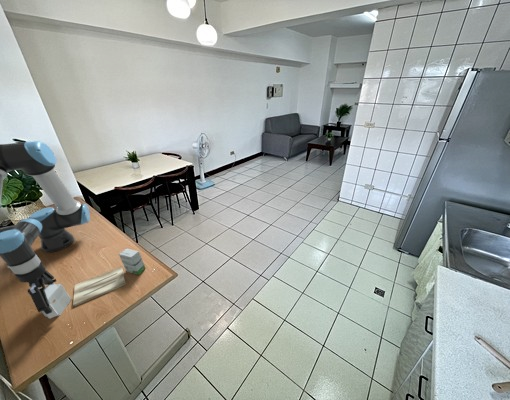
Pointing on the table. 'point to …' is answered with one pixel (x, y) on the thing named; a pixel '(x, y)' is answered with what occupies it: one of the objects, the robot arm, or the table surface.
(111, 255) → the table surface
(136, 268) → the ink box
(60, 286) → the small box
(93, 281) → the board
